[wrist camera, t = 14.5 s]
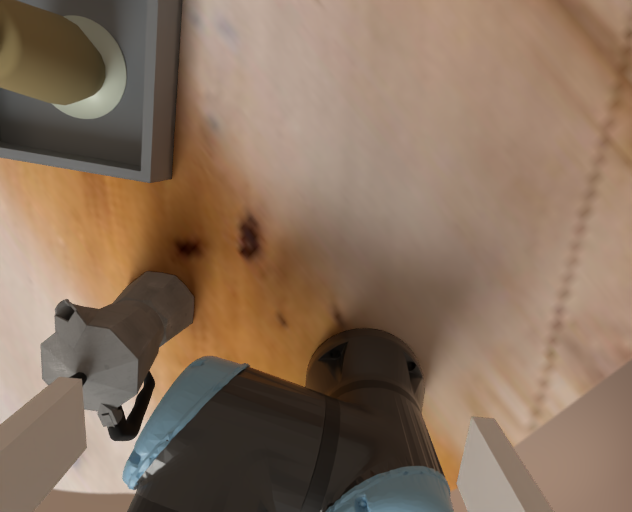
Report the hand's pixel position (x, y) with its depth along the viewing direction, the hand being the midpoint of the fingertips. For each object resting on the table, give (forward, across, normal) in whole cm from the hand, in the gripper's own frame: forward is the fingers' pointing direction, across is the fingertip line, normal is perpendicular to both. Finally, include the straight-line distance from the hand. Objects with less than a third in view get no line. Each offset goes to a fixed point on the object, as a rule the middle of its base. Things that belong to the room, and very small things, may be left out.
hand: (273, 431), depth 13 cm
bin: (+33, +26, -16) cm, 45 cm away
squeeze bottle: (+32, +26, -16) cm, 44 cm away
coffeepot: (+34, +18, +12) cm, 41 cm away
